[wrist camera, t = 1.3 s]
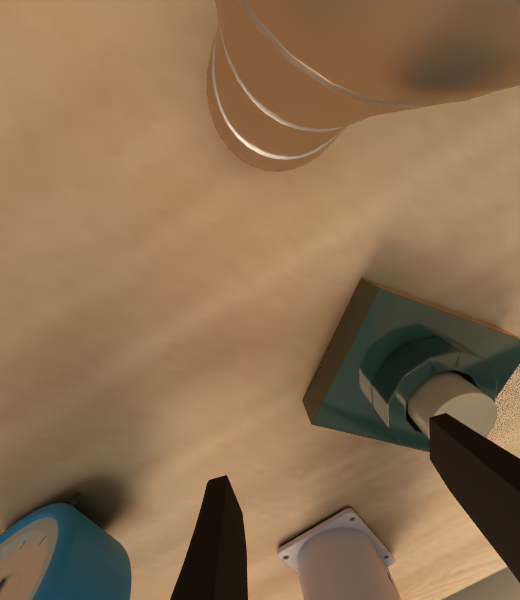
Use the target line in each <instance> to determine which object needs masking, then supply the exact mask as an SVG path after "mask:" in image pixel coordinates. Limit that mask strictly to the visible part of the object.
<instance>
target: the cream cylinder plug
mask: <svg viewBox="0 0 520 600" xmlns="http://www.w3.org/2000/svg"><path fill="white" fill-rule="evenodd" d="M407 408H408V414H409V416H410V418H411V419H412V420H413V422H414V423H415V424H416V425H417V426H418V428H419V429H420V430H421V431H422V432H423V434H424V435H425V436H426V437H427V438H428V440H429V441H430V434H429V418H430V417H433V416H437V415H440V414H444V413H447V414H449V415H450V416H452V417H454V418H455V419H457V420H458V421H460V422H461V423H463V424H465V425H466V426H468V427H469V428H471V429H472V430H474V431H476V432H477V433H479V434H480V435H482V436H483V437H486V436H487V435H488V434H489V433H490V431H491V430H492V428H493V426H494V424H495V422H496V419H497V407H496V405H495V403H494V401H493V400H492V399H491V398H490V397H489V396H488V395H486V394H485V393H484V392H482V391H481V390H480V389H478V388H477V387H476V386H474V385H473V384H472V383H470V382H469V381H468V380H467V379H465V378H464V377H463V376H461V375H459V374H457V373H453V372H441V373H437V374H434V375H432V376H431V377H429V378H428V379H426V380H425V381H424V382H422V383H421V384H419V385H418V386H417V387H416V388H415V390H414V392H413V393H412V395H411V397H410V398H409V400H408V406H407Z"/></svg>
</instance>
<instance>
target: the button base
mask: <svg viewBox="0 0 520 600" xmlns="http://www.w3.org/2000/svg"><path fill="white" fill-rule="evenodd" d="M519 364H520V337H518V336H516V335H514V334H512V333H510V332H508V331H506V330H504V329H502V328H499V327H496V326H494V325H491V324H488V323H485V322H483V321H480V320H477V319H475V318H472V317H469V316H466V315H464V314H461V313H458V312H455V311H453V310H450V309H447V308H444V307H442V306H439V305H436V304H434V303H431V302H428V301H425V300H423V299H420V298H417V297H414V296H412V295H409V294H406V293H403V292H401V291H398V290H395V289H393V288H390V287H387V286H384V285H382V284H379V283H376V282H373V281H371V280H368V279H365V278H361V280H360V282H359V284H358V286H357V288H356V290H355V292H354V294H353V297H352V299H351V301H350V303H349V305H348V307H347V309H346V311H345V313H344V315H343V317H342V319H341V321H340V324H339V326H338V328H337V330H336V332H335V334H334V336H333V338H332V340H331V342H330V344H329V346H328V349H327V351H326V353H325V355H324V357H323V359H322V361H321V363H320V365H319V367H318V369H317V371H316V373H315V376H314V378H313V380H312V382H311V384H310V386H309V388H308V390H307V392H306V394H305V396H304V398H303V403H304V406H305V409H306V411H307V414H308V417H309V419H310V422H311V424H312V425H316V426H320V427H325V428H329V429H333V430H337V431H342V432H346V433H350V434H354V435H359V436H363V437H367V438H371V439H376V440H380V441H384V442H389V443H393V444H397V445H401V446H406V447H410V448H414V449H418V450H423V451H427V452H430V441H429V440H428V438H427V437H426V436H425V435H424V434H423V432H422V431H421V430H420V429H419V428H418V426H417V425H416V424H415V423H414V422H413V420H412V419H411V418H410V416H409V414H408V408H407V406H408V400H409V398H410V397H411V395H412V393H413V392H414V390H415V388H416V387H417V386H418V385H419V384H421V383H422V382H424V381H425V380H426V379H428V378H429V377H431V376H432V375H434V374H437V373H441V372H453V373H457V374H459V375H461V376H463V377H464V378H465V379H467V380H468V381H469V382H470V383H472V384H473V385H474V386H476V387H477V388H478V389H480V390H481V391H482V392H484V393H485V394H486V395H488V396H489V397H490V398H491V399H492V400H493V401H494V403H495V398H496V397H497V395H498V394H499V393H500V391H501V390H502V388H503V387H504V385H505V384H506V383H507V381H508V380H509V378H510V377H511V375H512V374H513V372H514V371H515V370H516V368H517V367H518V365H519Z"/></svg>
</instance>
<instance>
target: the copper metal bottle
mask: <svg viewBox="0 0 520 600" xmlns="http://www.w3.org/2000/svg"><path fill="white" fill-rule="evenodd" d="M215 1H216V8H217V16H218V26H217V33H216V36H215V38H214V41H213V45H212V50H211V55H210V60H209V65H208V71H207V96H208V104H209V109H210V112H211V116H212V119H213V122H214V125H215V127H216V129H217V130H218V132H219V134H220V136H221V138H222V139H223V141H224V142H225V143H226V145H227V146H228V147H229V149H230V150H231V151H232V152H233V153H235V154H236V155H237V156H238V157H239V158H240V159H241V160H243V161H245V162H247V163H248V164H250V165H252V166H254V167H257V168H260V169H263V170H268V171H285V170H292V169H295V168H297V167H300V166H303V165H305V164H307V163H308V162H310V161H312V160H313V159H315V158H316V157H317V156H318V155H319V154H321V153H322V152H323V151H324V150H325V149H326V148H327V147H328V146H329V145H330V144H331V143H332V142H333V141H334V140H335V138H336V137H337V136H338V134H339V133H340V132H341V131H342V130H343V129H344V128H345V127H346V126H348V125H350V124H353V123H355V122H357V121H360V120H363V119H365V118H368V117H370V116H375V115H380V114H386V113H392V112H398V111H404V110H410V109H416V108H421V107H427V106H433V105H439V104H445V103H451V102H459V101H465V100H469V99H472V98H475V97H479V96H482V95H485V94H489V93H492V92H495V91H499V90H503V89H507V88H511V87H514V86H518V85H520V0H215Z"/></svg>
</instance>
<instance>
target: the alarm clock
mask: <svg viewBox="0 0 520 600" xmlns="http://www.w3.org/2000/svg"><path fill="white" fill-rule="evenodd" d="M79 496H80V493H76V494H75V495H74V496H73V497H72V498H71V499H70V500H69V501H68V502H67V503H54V504H50V505H47V506H44V507H42V508H40V509H38V510H36V511H34V512H32V513H30V514H29V515H27V516H26V517H24V518H22V519H21V520H20V521H18V522H17V523H15V524H14V525H13V526H11V527H10V528H9V529H7V530H6V531H5V532H4V533H2V534H1V535H0V600H130V594H131V567H130V561H129V557H128V555H127V552H126V550H125V549H124V547H123V546H122V545H121V544H120V543H119V542H118V541H117V540H115V539H114V538H113V537H111V536H110V535H109V534H108V533H106V532H105V531H104V530H102V529H101V528H100V527H99V526H97V525H96V524H95V523H93V522H92V521H91V520H90V519H88V518H87V517H86V516H84V515H83V514H82V513H80V512H79V511H78V510H77V509H75V508H74V505H75V503H76V501H77V500H78V498H79Z"/></svg>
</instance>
